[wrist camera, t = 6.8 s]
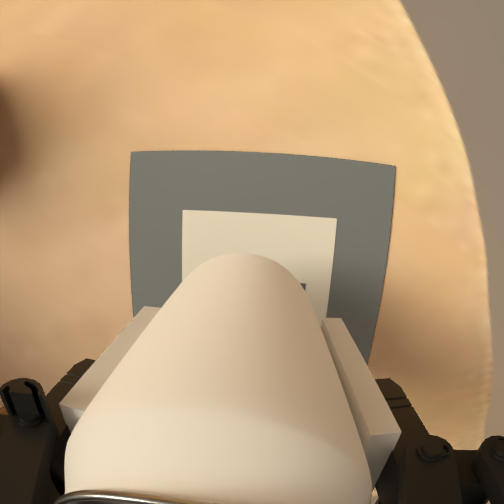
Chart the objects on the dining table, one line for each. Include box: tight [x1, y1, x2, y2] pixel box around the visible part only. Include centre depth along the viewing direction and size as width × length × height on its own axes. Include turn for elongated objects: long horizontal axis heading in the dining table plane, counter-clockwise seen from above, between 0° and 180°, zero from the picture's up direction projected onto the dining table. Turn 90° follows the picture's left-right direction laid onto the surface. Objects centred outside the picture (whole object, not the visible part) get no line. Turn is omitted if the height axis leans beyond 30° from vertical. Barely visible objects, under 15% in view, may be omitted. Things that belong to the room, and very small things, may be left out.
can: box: [54, 253, 372, 504], centre depth 9 cm, size 6×6×12 cm
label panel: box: [129, 151, 395, 364], centre depth 21 cm, size 16×30×1 cm, turn 177°
